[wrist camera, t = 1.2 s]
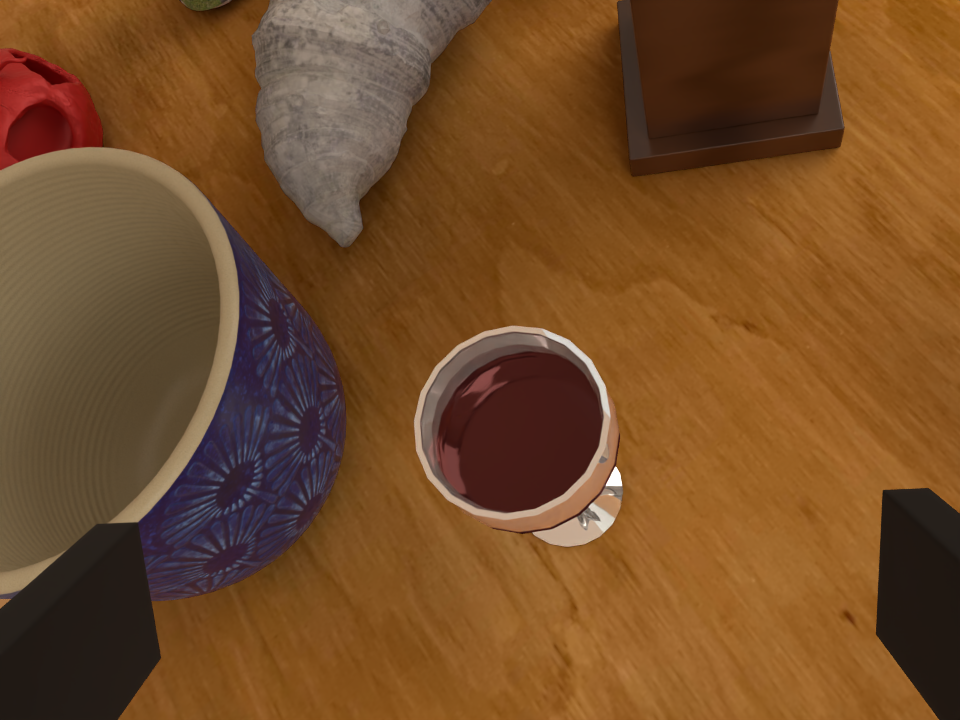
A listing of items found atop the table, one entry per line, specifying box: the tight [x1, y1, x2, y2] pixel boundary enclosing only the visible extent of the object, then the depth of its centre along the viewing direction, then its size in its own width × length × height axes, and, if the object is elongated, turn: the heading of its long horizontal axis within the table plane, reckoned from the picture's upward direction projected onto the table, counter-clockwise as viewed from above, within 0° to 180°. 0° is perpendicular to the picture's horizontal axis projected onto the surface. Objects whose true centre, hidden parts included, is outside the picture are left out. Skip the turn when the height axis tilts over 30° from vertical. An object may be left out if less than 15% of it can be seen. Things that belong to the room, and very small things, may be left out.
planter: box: [0, 147, 346, 601], centre depth 37 cm, size 17×17×15 cm
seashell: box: [252, 0, 492, 247], centre depth 45 cm, size 16×15×10 cm
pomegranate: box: [0, 48, 103, 170], centre depth 51 cm, size 10×10×9 cm
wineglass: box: [414, 326, 623, 547], centre depth 34 cm, size 7×7×12 cm
